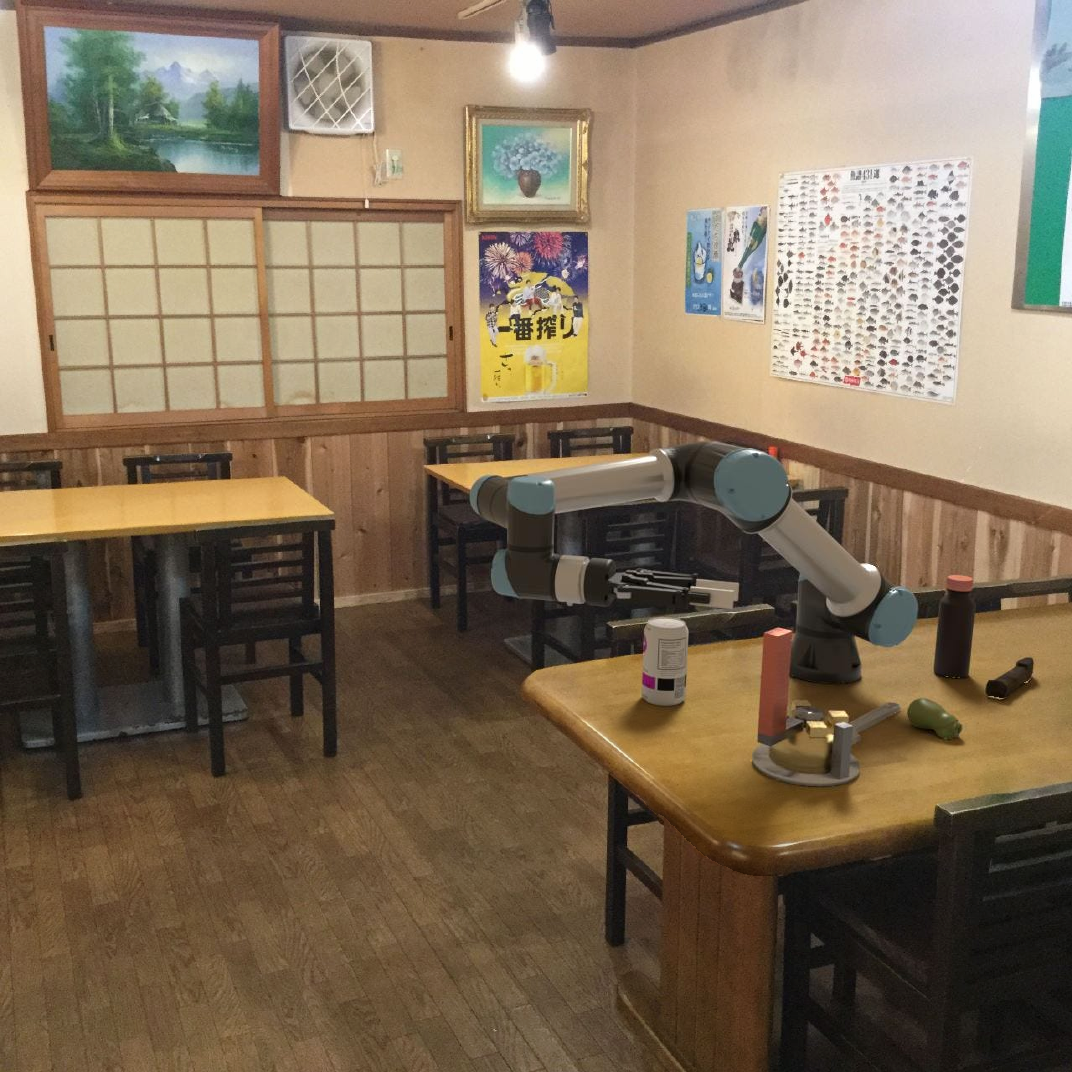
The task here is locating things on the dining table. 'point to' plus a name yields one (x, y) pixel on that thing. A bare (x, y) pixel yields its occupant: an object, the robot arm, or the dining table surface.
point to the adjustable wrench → (872, 719)
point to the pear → (933, 718)
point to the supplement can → (665, 661)
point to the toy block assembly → (790, 714)
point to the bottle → (955, 628)
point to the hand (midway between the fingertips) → (735, 595)
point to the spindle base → (841, 773)
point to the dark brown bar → (1011, 678)
